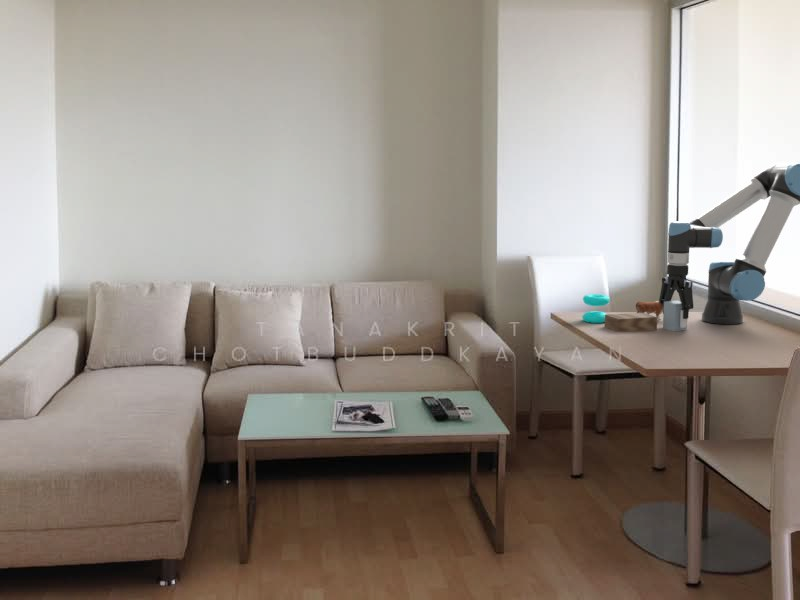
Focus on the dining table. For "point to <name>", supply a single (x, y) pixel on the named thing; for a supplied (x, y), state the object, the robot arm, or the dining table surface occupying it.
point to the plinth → (630, 322)
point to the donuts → (595, 301)
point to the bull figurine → (650, 308)
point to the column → (672, 315)
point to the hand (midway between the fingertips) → (674, 325)
